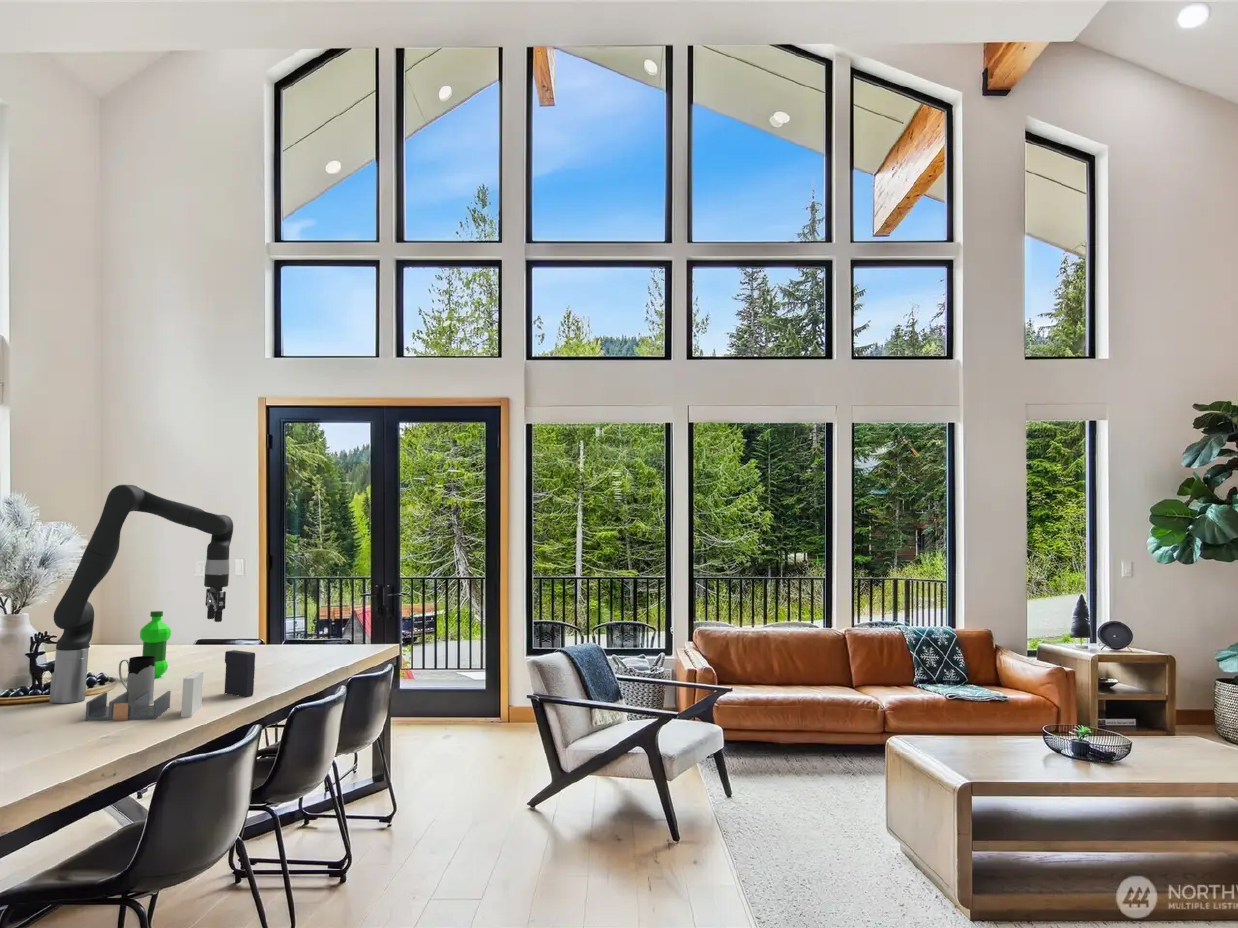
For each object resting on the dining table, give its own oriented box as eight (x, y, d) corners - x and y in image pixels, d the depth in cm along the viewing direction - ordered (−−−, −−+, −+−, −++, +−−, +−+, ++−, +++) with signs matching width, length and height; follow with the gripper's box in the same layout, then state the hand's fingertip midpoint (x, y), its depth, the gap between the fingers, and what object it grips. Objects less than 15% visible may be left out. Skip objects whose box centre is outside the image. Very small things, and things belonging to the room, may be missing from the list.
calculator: (255, 695, 294) (257, 652, 295) (244, 697, 290) (247, 653, 291) (232, 691, 298) (235, 649, 299) (222, 693, 294) (225, 651, 295)
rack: (84, 721, 252) (85, 702, 252) (103, 709, 267) (104, 692, 267) (155, 719, 256) (156, 701, 257) (169, 707, 271) (170, 690, 272)
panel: (181, 717, 260) (183, 678, 261) (191, 708, 272) (193, 671, 272) (191, 716, 261) (193, 678, 261) (201, 708, 272) (203, 671, 273)
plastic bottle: (164, 673, 328) (168, 609, 330) (170, 677, 320) (174, 612, 322) (135, 675, 322) (139, 610, 324) (140, 680, 314) (144, 613, 315)
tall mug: (137, 707, 272) (141, 660, 273) (105, 702, 276) (108, 657, 277) (160, 701, 280) (163, 656, 281) (128, 697, 284) (131, 653, 285)
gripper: (199, 571, 289) (196, 618, 288) (211, 574, 278) (208, 623, 277) (222, 571, 294) (219, 617, 293) (235, 573, 283) (232, 621, 282)
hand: (214, 620), depth 285 cm, fingers open, 8 cm apart
